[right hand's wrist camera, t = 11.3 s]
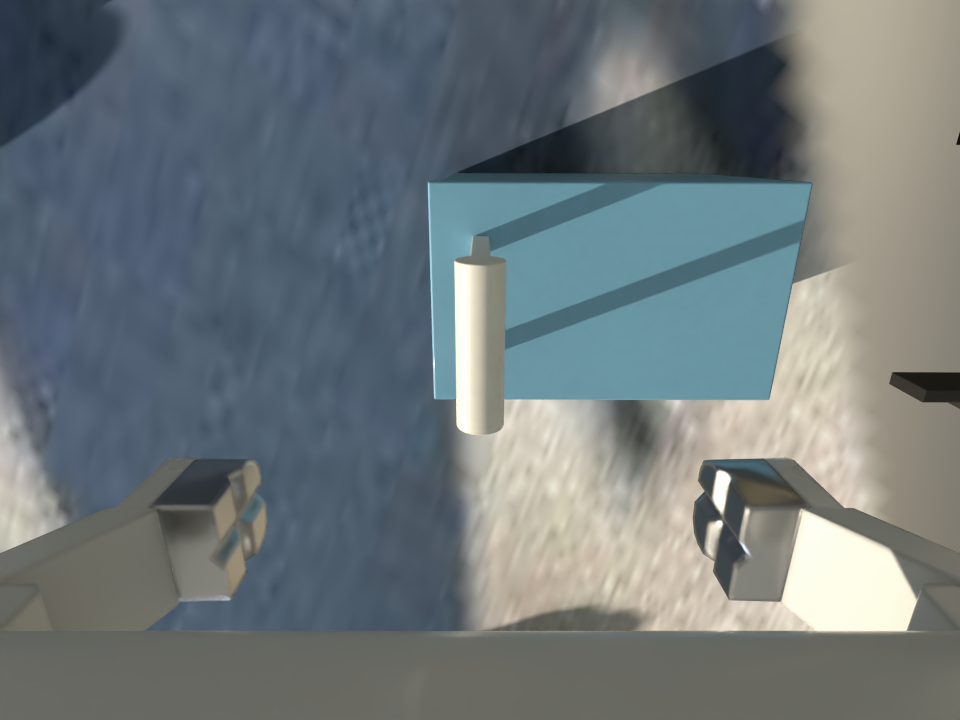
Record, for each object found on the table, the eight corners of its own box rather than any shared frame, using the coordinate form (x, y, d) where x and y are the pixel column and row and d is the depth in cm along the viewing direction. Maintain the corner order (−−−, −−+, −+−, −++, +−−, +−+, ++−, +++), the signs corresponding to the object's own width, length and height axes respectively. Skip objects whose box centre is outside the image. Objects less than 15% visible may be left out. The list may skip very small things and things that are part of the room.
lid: (435, 390, 27) (416, 488, 19) (430, 180, 24) (403, 192, 16) (758, 390, 27) (874, 489, 19) (798, 181, 24) (961, 193, 16)
